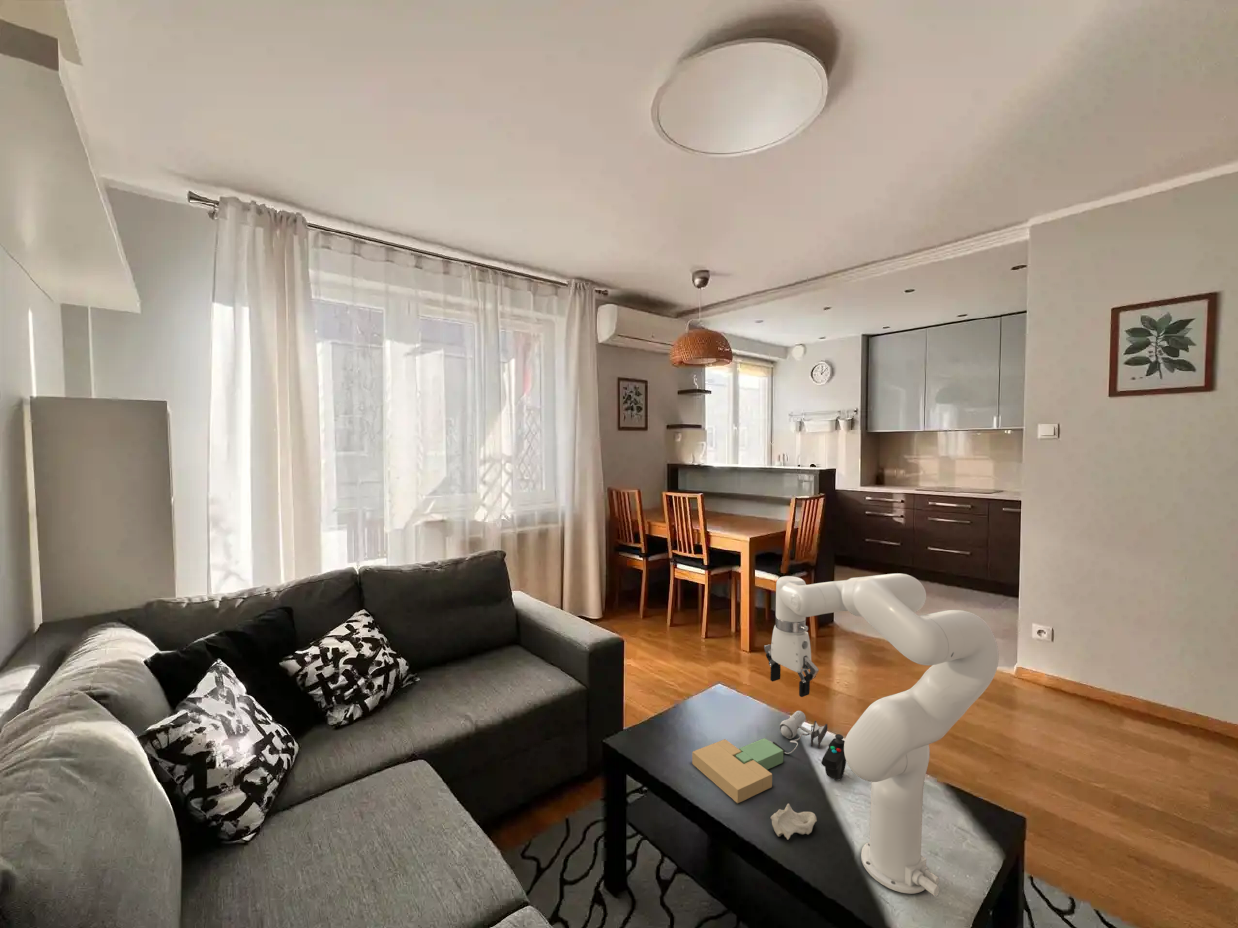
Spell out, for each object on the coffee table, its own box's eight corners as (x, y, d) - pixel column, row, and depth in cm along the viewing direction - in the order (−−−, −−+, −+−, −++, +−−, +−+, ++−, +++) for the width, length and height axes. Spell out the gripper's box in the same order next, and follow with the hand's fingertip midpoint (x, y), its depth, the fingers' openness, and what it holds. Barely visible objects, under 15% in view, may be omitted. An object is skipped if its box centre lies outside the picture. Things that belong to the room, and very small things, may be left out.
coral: (820, 831, 118) (821, 812, 118) (785, 846, 114) (786, 826, 114) (802, 814, 124) (802, 797, 123) (768, 828, 119) (768, 810, 119)
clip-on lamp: (799, 773, 143) (831, 735, 155) (799, 754, 142) (831, 718, 153) (763, 750, 152) (795, 716, 163) (762, 732, 150) (795, 699, 162)
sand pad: (772, 786, 134) (772, 773, 133) (737, 803, 127) (737, 789, 127) (724, 750, 149) (725, 738, 149) (692, 763, 143) (692, 751, 143)
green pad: (783, 762, 144) (783, 750, 143) (749, 777, 137) (749, 765, 137) (764, 749, 150) (764, 737, 149) (730, 763, 143) (731, 751, 143)
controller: (849, 769, 140) (850, 734, 140) (836, 794, 131) (837, 756, 130) (833, 763, 143) (834, 728, 143) (819, 787, 133) (819, 749, 133)
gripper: (827, 632, 130) (826, 698, 131) (775, 612, 145) (774, 671, 146) (807, 638, 126) (806, 705, 127) (756, 616, 141) (755, 677, 142)
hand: (789, 687), depth 137 cm, fingers open, 9 cm apart
